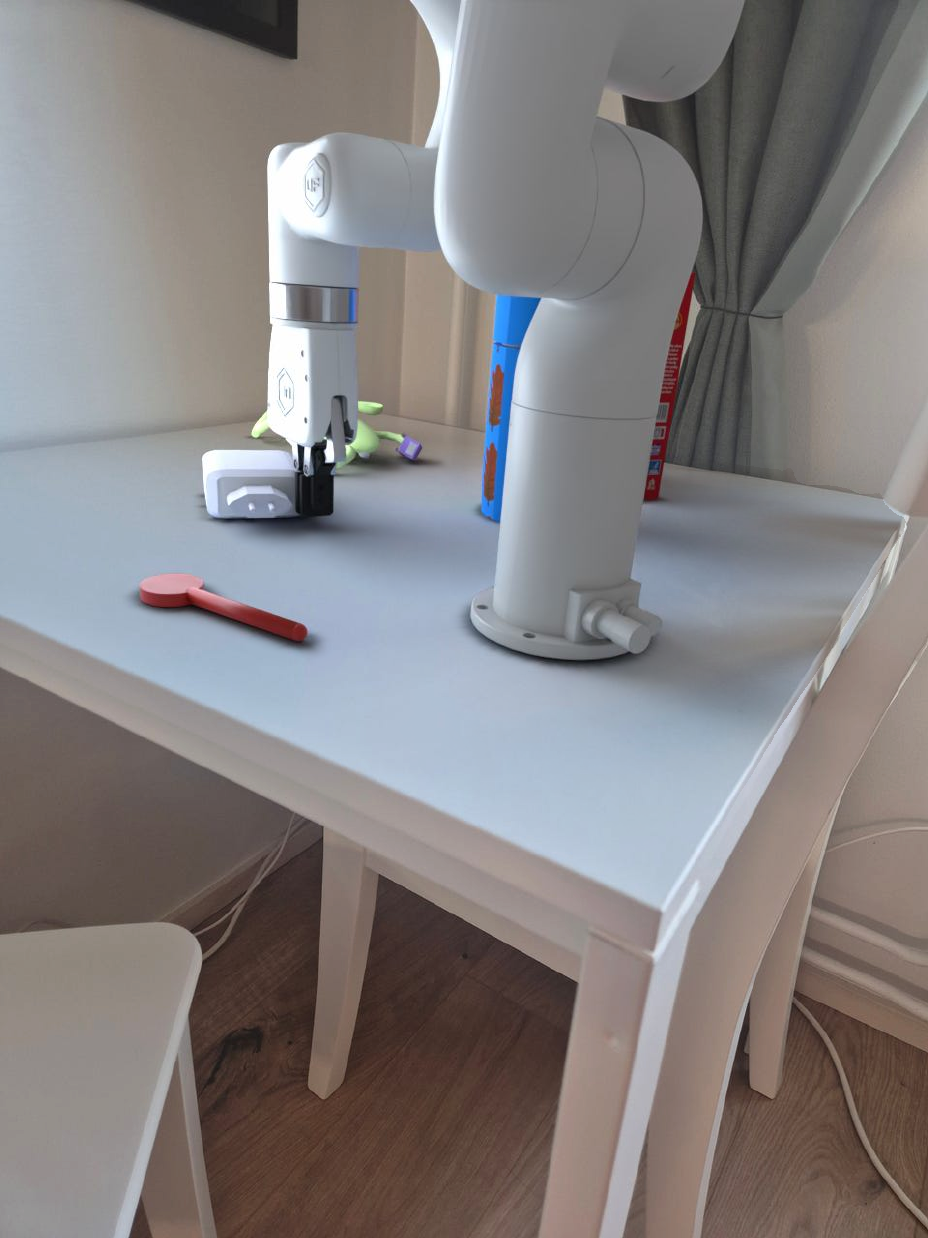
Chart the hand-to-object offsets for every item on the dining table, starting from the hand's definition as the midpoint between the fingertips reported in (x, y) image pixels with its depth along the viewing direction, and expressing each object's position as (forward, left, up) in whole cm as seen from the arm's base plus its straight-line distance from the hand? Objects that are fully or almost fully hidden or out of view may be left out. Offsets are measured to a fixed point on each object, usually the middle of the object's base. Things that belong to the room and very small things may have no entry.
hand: (314, 513), depth 79 cm
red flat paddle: (-17, +15, -1) cm, 23 cm away
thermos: (-4, -23, -1) cm, 23 cm away
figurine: (+31, -17, -1) cm, 35 cm away
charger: (+5, +4, -1) cm, 7 cm away
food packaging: (+4, -41, -1) cm, 41 cm away
